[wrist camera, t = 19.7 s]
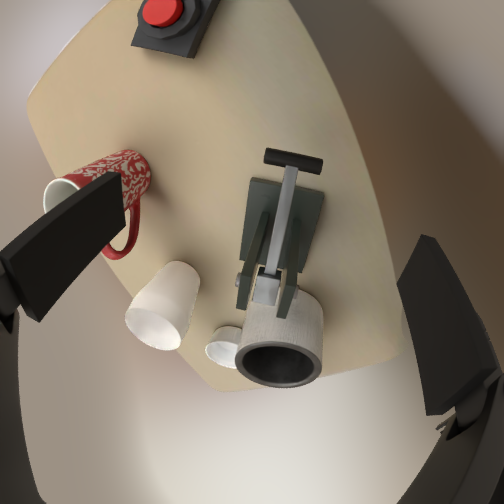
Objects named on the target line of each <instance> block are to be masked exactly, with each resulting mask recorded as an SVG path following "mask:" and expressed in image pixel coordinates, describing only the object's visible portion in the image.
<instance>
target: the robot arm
mask: <svg viewBox="0 0 504 504" xmlns="http://www.w3.org/2000/svg"><path fill="white" fill-rule="evenodd" d="M125 226H126V222H125V213H124V203H123V192H122V178H121V173H120V172H111V171H107V172H106V173H104V174H103V175H101V176H99V177H98V178H96V179H95V180H93V181H91V182H90V183H88V184H87V185H85V186H84V187H82V188H81V189H79V190H78V191H76V192H75V193H73V194H72V195H71V196H69V197H68V198H66V199H65V200H63V201H62V202H61V203H59V204H58V205H56V206H55V207H54V208H52V209H51V210H50V211H48V212H47V213H46V214H44V215H43V216H42V217H41V218H39V219H38V220H37V221H35V222H34V223H33V224H32V225H31V226H29V227H28V228H27V229H26V230H24V231H23V232H22V233H21V234H20V235H19V236H17V237H16V238H15V239H14V240H13V241H11V242H10V243H9V244H8V245H7V246H6V247H5V248H4V249H3V250H1V251H0V504H46V503H45V502H44V501H43V500H42V498H41V497H40V495H39V493H38V491H37V487H36V484H35V481H34V477H33V473H32V469H31V465H30V461H29V457H28V452H27V447H26V442H25V436H24V431H23V424H22V417H21V408H20V397H19V381H18V334H19V312H18V310H17V308H18V306H19V305H20V304H21V306H22V307H23V309H24V311H25V313H26V315H27V316H29V317H30V318H32V319H34V320H35V321H37V322H41V320H42V319H43V317H44V316H45V315H46V314H47V313H48V311H49V310H50V309H51V307H52V306H53V305H54V304H55V303H56V301H57V300H58V299H59V298H60V296H61V295H62V294H63V293H64V292H65V290H66V289H67V288H68V287H69V286H70V285H71V283H72V282H73V281H74V280H75V279H76V278H77V277H78V275H79V274H80V273H81V272H82V271H83V270H84V269H85V268H86V266H87V265H88V264H89V263H90V262H91V261H92V260H93V259H94V258H95V257H96V256H97V255H98V254H99V253H100V252H101V250H102V249H103V248H104V247H105V246H106V245H107V244H108V243H109V242H110V241H111V240H112V239H113V238H114V237H115V236H116V235H117V234H118V233H119V232H120V231H121V230H122V229H123V228H124V227H125ZM397 287H398V290H399V293H400V297H401V300H402V303H403V307H404V310H405V314H406V317H407V321H408V325H409V328H410V333H411V336H412V340H413V345H414V349H415V354H416V358H417V363H418V367H419V373H420V378H421V383H422V389H423V395H424V402H425V409H426V415H427V416H430V415H443V414H444V413H446V412H447V411H448V410H450V409H451V408H452V407H453V406H455V411H456V413H455V414H454V415H452V416H451V417H449V418H448V419H447V420H445V421H444V422H442V423H441V424H439V425H438V426H437V428H436V430H439V429H440V428H442V427H443V426H445V425H446V427H445V429H444V430H443V431H441V432H440V433H441V437H440V438H439V440H438V442H437V444H436V445H435V447H434V449H433V451H432V453H431V454H430V456H429V458H428V459H427V461H426V463H425V464H424V466H423V467H422V469H421V470H420V472H419V473H418V475H417V477H416V478H415V479H414V481H413V482H412V484H411V485H410V487H409V488H408V489H407V491H406V492H405V493H404V495H403V496H402V497H401V499H400V500H399V501H398V503H397V504H504V373H502V370H501V367H500V364H499V362H498V359H497V356H496V353H495V351H494V348H493V346H492V343H491V341H489V340H490V338H489V336H488V333H487V332H486V328H485V326H484V324H483V322H482V320H481V318H480V317H479V315H478V314H477V313H476V311H475V310H474V308H473V306H472V304H471V302H470V300H469V298H468V295H467V294H466V292H465V290H464V288H463V286H462V284H461V282H460V280H459V278H458V276H457V275H456V273H455V271H454V269H453V267H452V266H451V264H450V262H449V260H448V259H447V257H446V255H445V254H444V252H443V250H442V249H441V247H440V245H439V244H438V242H437V241H436V239H435V238H433V237H429V236H426V235H422V234H421V236H420V238H419V240H418V243H417V245H416V247H415V249H414V251H413V253H412V255H411V257H410V259H409V261H408V263H407V265H406V267H405V269H404V271H403V272H402V274H401V276H400V278H399V280H398V282H397Z"/></svg>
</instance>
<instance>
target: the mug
mask: <svg viewBox="0 0 504 504" xmlns="http://www.w3.org/2000/svg"><path fill="white" fill-rule="evenodd" d="M107 171H111V172H120V173H121V178H122V192H123V203H124V212H125V211H126V210H127V209H128V208H129V210H130V230H129V237H128V241H127V244H126V246H125V248H124V249H123V250H122V251H116V250H115V249H113V248H112V247H111V245H110V243H108V244H107V245H106V246H105V247H104V248H103V249H102V250H101V251H102V253H103V254H104V255H105V256H106V257H107V258H109V259H112V260H118V259H121V258H123V257H124V256H126V255H127V254H128V253H129V252H130V251H131V250H132V248H133V247H134V245H135V243H136V240H137V236H138V231H139V223H140V197H141V196H142V195H143V194H144V193H145V192H146V190H147V189H148V187H149V185H150V181H151V173H150V168H149V166H148V163H147V162H146V160H145V159H144V158H143V157H142V156H141V155H140V154H139V153H137V152H135V151H133V150H122V151H119V152H117V153H114V154H112V155H110V156H107V157H105V158H102V159H100V160H98V161H95V162H93V163H91V164H89V165H87V166H84V167H82V168H80V169H78V170H75V171H73V172H71V173H69V174H67V175H65V176H63V177H60V178H56V179H54V180H52V181H51V182H50V183H49V184H48V185H47V187H46V189H45V192H44V198H43V199H44V200H43V204H44V211H45V214H46V213H47V212H48V211H50V210H51V209H52V208H54V207H55V206H56V205H58V204H59V203H61V202H62V201H63V200H65V199H66V198H68V197H69V196H71V195H72V194H73V193H75V192H76V191H78V190H79V189H81V188H82V187H84V186H85V185H87V184H88V183H90V182H91V181H93V180H95V179H96V178H98V177H99V176H101V175H103V174H104V173H106V172H107Z"/></svg>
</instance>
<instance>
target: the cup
mask: <svg viewBox="0 0 504 504" xmlns="http://www.w3.org/2000/svg"><path fill="white" fill-rule="evenodd" d="M199 286H200V277H199V275H198V273H197V272H196V270H195V269H194V268H193V267H191V266H190V265H188V264H186V263H184V262H181V261H171V262H169V263H167V264H166V265H165V266H164V267H163V268H162V269H161V270H160V271H159V272H158V273H157V274H156V275H155V276H154V277H153V278H152V279H151V280H150V281H149V282H148V283H147V284H146V285H145V286H144V287H143V288H142V289H141V291H140V292H139V293H138V294H137V295H136V296H135V297H134V299H133V301H132V303H131V305H130V307H129V308H128V310H127V312H126V314H125V322H126V324H127V327H128V328H129V330H130V331H131V332H132V333H133V334H134V335H135V336H136V337H137V338H138V339H139V340H141V341H142V342H144V343H146V344H147V345H149V346H152V347H154V348H157V349H161V350H173V349H176V348H178V347H179V345H180V344H181V342H182V340H183V338H184V336H185V334H186V333H187V331H188V328H189V325H190V321H191V317H192V313H193V309H194V305H195V301H196V298H197V294H198V290H199Z"/></svg>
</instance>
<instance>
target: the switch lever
mask: <svg viewBox="0 0 504 504" xmlns="http://www.w3.org/2000/svg"><path fill="white" fill-rule="evenodd" d="M264 163H265V164H270V165H275V166H280V167H285V173H284V178H283V183H282V188H281V193H280V198H279V203H278V208H277V213H276V218H275V223H274V228H273V232H272V237H271V242H270V247H269V252H268V257H267V261H266V266H265V267H260V268H259V271H258V275H257V279H256V284H255V289H254V294H253V298H252V302H257V303H261V304H266V305H270V306H275V302H276V298H277V294H278V290H279V286H280V282H281V272H282V271H279V270H277V267H278V262H279V258H280V254H281V249H282V245H283V240H284V235H285V231H286V226H287V222H288V217H289V212H290V208H291V203H292V198H293V193H294V188H295V183H296V178H297V173H298V170H299V171H304V172H308V173H313V174H317V175H320V173H321V170H322V166H323V159H319V158H315V157H311V156H306V155H302V154H297V153H292V152H287V151H282V150H277V149H272V148H266V150H265V155H264Z"/></svg>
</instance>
